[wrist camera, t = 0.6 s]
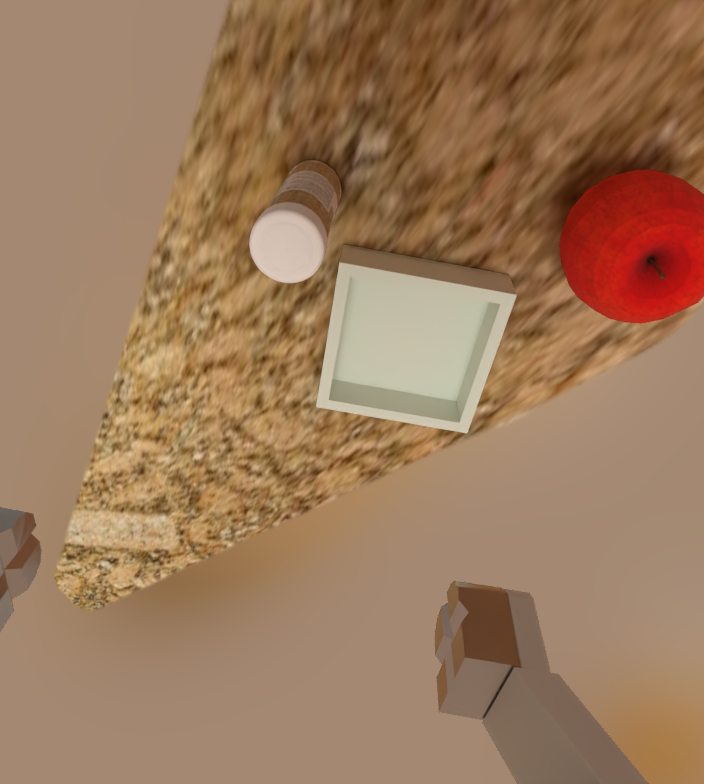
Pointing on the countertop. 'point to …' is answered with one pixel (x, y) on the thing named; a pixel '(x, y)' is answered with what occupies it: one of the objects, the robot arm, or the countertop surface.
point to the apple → (636, 246)
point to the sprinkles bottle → (297, 223)
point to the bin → (412, 338)
